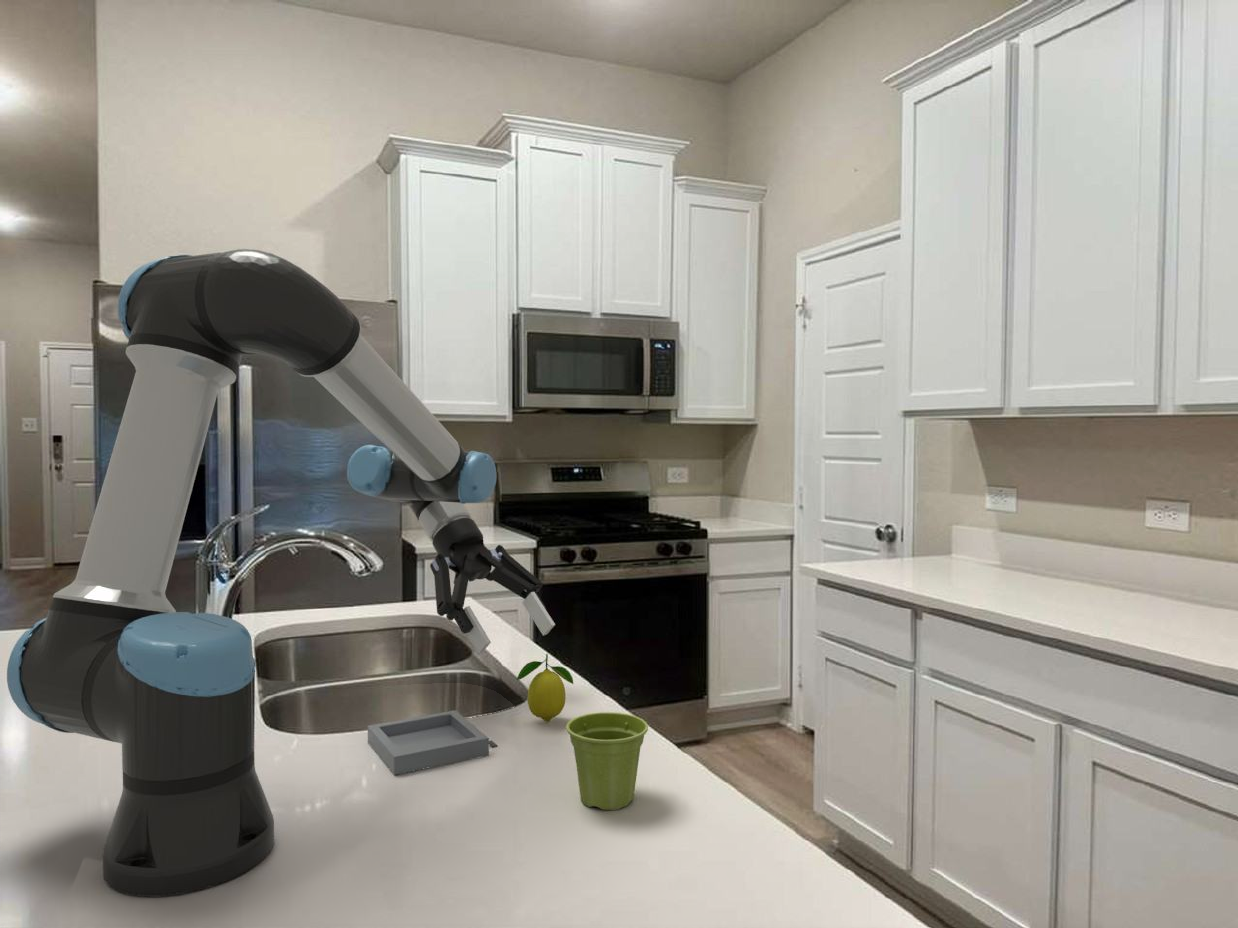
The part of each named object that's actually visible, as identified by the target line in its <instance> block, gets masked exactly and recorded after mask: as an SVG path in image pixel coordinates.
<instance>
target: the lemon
mask: <svg viewBox="0 0 1238 928" xmlns="http://www.w3.org/2000/svg"><path fill="white" fill-rule="evenodd" d="M548 655H549V654H548V653H546V654H545V659H544V660H543V661H537V660H534V661H530V662H528V663H526V664H525V665H524V666H523V667H522V668H521V670H520V672H519V673H518V675H517V677H516V681H520V680H522V679H524V678H526V677H527V676H529V674H530V673H532V672H534V671H535V670H537V669H538V668H539V667H540V666H541V665H542V664H544V663H545V669H544V670H543V671H540V672H538V673H536V674H535V676H534V677H533V678H532V680H531V682H530V684H529V686H528V690H527V698H526V699H527V700H526V701H527V705H528V709H529V711H530V713H531V714H532V715H533V716H535V717H537V718H539V719H542V720H543V721H544V722H545V723H550V722H551V720H552V719H553V718H556V717H557V716H559V715H560V714H561V712H562V711H563V709H564V707H565V705H566V699H567V698H566V695H567V694H566V693H567V692H566V687H565V684H564V682H563V679H564V680H565V681H566V682H567V683H570V684H572V685H574V679H573V676H572V674H571V673H570V671H569V670H568V669H566V667H563V666H559V665H556V666H551V665H549V664H548V660H549V659H548ZM548 667H550V669H551V670H552V671H551V670H550V669H548Z"/></svg>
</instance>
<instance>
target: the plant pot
mask: <svg viewBox="0 0 1238 928" xmlns="http://www.w3.org/2000/svg"><path fill="white" fill-rule="evenodd" d="M648 729H649V725H648V722H647V721H645V719H642V718H641V717H638V716H637V715H633V714H629V713H622V712H615V711H613V712H610V711H609V712H608V711H606V712H605V711H604V712H603V711H602V712H601V711H600V712H592V713H585V714H582V715H581V714H580V715H579V716H576V717H574V718H572V719H570V720H569V721H568V722H567V723H566V725H565V730H566V732H567V734H568V735H569V737H570V743H571V745H572V747H573V752H574V757H575V758H574V759H575V765H576V773H577V779H578V788H579V795H580V801H581V803H583V804H584V805H585V806H587V807H589V808H590V807H591V808H592V807H597V808H599V809H600V810H605V811H611V810H618V809H622V808H625V807H627V806H629V804H630V803H631V801H633V800H634V796H635V790H636V784H637V783H636V782H637V775H638V770H639V769H638V768H639V761H640V752H641V747H642V744H643V743H644V738H645V735H646V734H647V732H648Z"/></svg>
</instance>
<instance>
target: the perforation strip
mask: <svg viewBox="0 0 1238 928" xmlns="http://www.w3.org/2000/svg"><path fill="white" fill-rule="evenodd" d="M482 733H483V734H485V733H484V732H482ZM489 744H490V745H491V746H492V747H491V746H490V745H489V746H490V747H491V748H497V747H498V743H497V744H496V742H494V741H493V740H489Z"/></svg>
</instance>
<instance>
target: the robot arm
mask: <svg viewBox="0 0 1238 928" xmlns="http://www.w3.org/2000/svg"><path fill="white" fill-rule="evenodd" d="M117 299H118V300H117V315H118V317H117V318H118V321H119V322H120V323H122V326H123V328H122V329H121V330H122V332H123V334H124V337H126V339H127V340H128V341H127V342H128V343H127V345H126V347H125V355H126V357H127V358H128V360H130V362H131V363H132V365H133V366H134V369H135V373H134V377H133V381H132V384H131V387H130V391H129V394H128V398H127V401H126V405H125V408H124V411H123V413H122V414H123V415H122V418H121V421H120V425H119V427H118V431H117V436H116V438H115V443H114V445H113V449H112V451H111V457H110V460H109V463H108V466H107V469H106V473H105V476H104V480H103V483H102V486H101V490H100V494H99V497H98V500H97V503H96V508H95V511H94V514H93V517H92V518H93V519H92V521H91V524H90V528H89V531H88V535H87V538H86V541H85V545H84V549H83V552H82V556H81V559H80V562H79V565H78V569H77V573H76V575H75V579H74V580H73V581H72V583H70V584H68V585H67V586H65V587H63V588H61V589H60V590H58V591H56V592H55V593H54V594H53V596H52V597H51V601H50V605H49V609H48V612H47V614H46V617H45V618H43V619H40V620H39V621H37V622H35V623H34V624H33V626H32V627H31V628H30V629H28V630H25V631H24V632H23V633H22V635H21V636H19V638H18V639H17V640H16V642H15V644H14V646H13V648H12V650H11V652H10V655H9V659H8V662H7V668H6V682H7V683H6V684H7V688H8V692H9V694H10V697H11V699H12V701H13V703H14V704H15V706H16V707H17V708H18V709H19V710H20V712H21V713H22V714H24V715H25V716H26V717H28V718H29V719H31V720H32V721H34V722H36V723H38V724H42V725H44V726H45V727H47V728H49V729H52V730H55V731H57V732H60V733H65V734H78V735H82V736H83V735H84V736H87V737H91V738H96V739H100V740H104V741H107V742H108V741H109V742H113V743H117V744H121V763H122V766H121V767H122V768H121V769H122V793H121V795H120V799H119V802H118V804H117V807H116V811H115V814H114V815H113V816H114V817H113V819H112V823H111V825H110V829H109V830H108V831H109V832H108V834H107V837H106V841H105V844H104V847H103V851H102V878H103V881H104V882H105V883H106V885H107V886H108V887H109V888H111V889H113V890H114V891H117V892H119V893H122V894H126V895H131V896H138V897H139V896H140V897H141V896H142V897H162V896H163V897H164V896H165V897H166V896H173V895H178V894H179V895H181V894H185V893H190V892H195V891H199V890H203V889H206V888H210V887H213V886H216V885H219V884H222V883H225V882H227V881H229V880H232V879H233V878H236V877H238V876H240V875H242V874H244V873H246V872H247V871H249V870H251V869H253V868H254V867H256V866H257V865H258V864H260V863H261V861H263V860H264V859H265V858H267V856H268V855H269V853H270V852H271V851H272V849H273V847H274V843H275V822H274V819H275V818H274V814H273V812H272V809H271V806H270V805H269V802H268V800H267V797H266V794H265V792H264V789H263V787H262V784H261V782H260V779H259V776H258V773H257V772H256V766H255V724H256V723H255V713H256V712H255V703H256V699H255V698H256V696H255V695H256V694H255V691H256V689H255V688H256V685H255V684H256V683H255V682H256V677H255V674H256V660H255V657H254V654H253V653H254V652H253V641H252V640H253V639H252V637H251V634H250V632H249V629H247V628H246V626H245V625H244V624H242V623H241V622H240V621H238V620H235V619H233V618H230V617H228V616H225V615H224V616H223V615H219V614H215V613H210V612H209V613H208V612H198V613H191V612H189V611H180V612H179V611H177V610H176V609H175V608H174V606H173V604H171V602H170V601H169V599H168V598H167V596H166V591H167V587H168V582H169V578H170V575H171V572H172V567H173V563H174V560H175V555H176V552H177V548H178V546H179V545H178V544H179V541H180V536H181V533H182V530H183V525H184V522H185V517H186V513H187V510H188V507H189V506H188V505H189V504H190V500H191V499H190V498H191V495H192V492H193V487H194V483H195V480H196V476H197V472H198V468H199V466H200V462H201V458H202V453H203V449H204V446H205V442H206V438H207V435H208V431H209V428H210V423H211V419H212V416H213V412H214V408H215V404H216V399H217V396H218V393H219V392H220V390H223V389H224V388H226V387H228V386H230V385H232V384H235V382H236V380H237V376H238V373H239V370H240V365H241V362H242V357H243V355H253V354H254V355H255V354H260V355H263V356H264V355H266V356H268V357H273V358H276V359H277V360H279V361H282V362H284V363H285V364H287V365H288V366H289V367H290V368H291V369H292V370H293V371H294V372H295V373H297V374H298V375H299V376H301V377H306V378H314V379H316V381H317V382H319V384H320V385H321V386H322V387H323V388H325V390H327V391H328V392H329V393H330V394H331V395H332V396H333V397H334V398H335V399H336V400H337V401H338V402H339V403H340V404H341V405H342V406H344V408H345V409H347V411H349V413H351V414H352V415H353V416H354V417H355V418H356V420H358V421H359V422H360V423H361V424H362V425H363V426H364V427H365V428H367V429H368V431H370V433H372V435H373V436H375V438H377V439H378V440H379V441H380V442H381V443H382V444H383V445H384V446H381V445H380V446H377V445H374V444H366V445H362V446H361V447H359V448H357V449H356V450H355V451H354V452H353V453H352V455H351V457H350V458H349V460H348V463H347V468H346V469H347V471H346V478H347V481H348V483H349V485H350V486H351V487H352V488H353V489H354V491H356V492H359V493H361V494H363V495H367V496H368V497H369V498H371V497H374V498H379V499H384V500H387V501H392V502H395V503H398V504H404V505H406V506H408V507H409V508H410V509H411V511H412V512H413V514H414V516H415V518H416V520H417V521H418V522H419V524H420V526H421V528H422V529H423V531H424V532H425V534H426V536H427V538H428V539H429V540H430V542H432V546H433V548H434V550H435V551H436V553H437V555H436V556H435V557H434V559H433V560H432V562H431V563H430V565H429V566H430V567H429V568H430V570H431V572H432V574H433V576H434V578H433V579H434V590H435V603H436V613H437V614H438V615H439V616H440V617H443V616H445V615H446V619H447V620H449V621H453V620H454V621H455V623H456V624H457V626H458V627H459V630H460V632H462V633H463V634H465V635H466V636H467V638H468V640H469V641H470V644H472V646H473V648H474V649H475V651H476V653H477V655H480V654H483V653H484V651H485V650H486V649H487V648H488V646H489V645H490V644H491V643H492V641H491V639H490V638H489V636H488V635H487V633H486V631H485V629H484V628H483V626H482V625H481V623H480V621H479V620H478V619H479V618H477V617H476V615H475V613H474V611H473V609H472V608H471V606H470V605H468V606H465V601H466V595H467V590H468V583H469V582H474V581H476V580H484V579H486V580H488V582H489V581H490V582H493V581H494V582H495V583H497V584H498V585H500V586H502V587H504V588H505V589H507V590H508V591H510V592H512V593H513V594H516V595H517V596H519V597H521V598H522V599H524V600H523V601H522V604H523V606H524V608H525V609H526V611H527V612H528V614H529V615H530V617H531V618H532V621H533V622H534V624H535V625H536V626H537V628H538V630H539V631H540V633H541V635H542V636H546V635H548V634H549V633H550V632H551V630H552V629H553V628H554V627H555V626H556V623H555V622H554V620H553V618H552V617H551V616H550V614H549V613H548V611H547V608H546V607H547V606H546V604H545V603H544V601H543V600H542V598H541V597H540V595H539V593H538V592H539V591H540V590H541V588H542V587H543V585H544V584H543V582H542V581H541V580H539V579H538V578H537V577H536V576H535V575H534V574H533V573H531V572H530V571H529V570H528V569H526V568H525V567H524V566H523V565H522V564H520V563H519V562H518V561H517V560H516V559H514V558H513V556H511V555H510V554H509V552H507V550H506V549H505V548H504V547H503V545H501V544H498V545H496V547H495V549H494V548H493V549H491V550H490V549H489V548H487V546H486V545H485V543H484V535H483V533H482V531H481V530H480V528H479V527H478V525H477V523H476V522H475V520H474V519H472V516H471V513H470V512H469V510H468V509H467V507H466V504H467V503H468V504H469V503H470V504H471V503H472V504H473V503H474V504H475V503H476V504H478V503H483V502H486V501H487V500H488V499H490V497H491V496H492V494H493V493H494V489H495V486H496V484H497V469H496V468H497V467H496V465H495V461H494V460H493V458H492V457H491V455H489V454H488V453H485V452H482V451H481V452H480V451H479V452H478V451H476V450H471V451H467V450H465V449H464V448H463V446H462V445H461V444H460V443H459V442H458V441H457V440H456V438H454V437H453V435H452V434H451V433H450V432H449V431H448V430H447V429H446V428H445V426H443V424H442V423H441V422H440V421H439V420H438V419H437V418H436V416H435V415H434V414H433V413H432V412H431V411H430V409H428V408H427V407H426V406H425V404H424V403H423V402H422V401H421V400H420V399H419V397H418V396H417V395H416V394H415V393H414V392H413V391H412V390H411V389H410V388H409V386H408V385H407V384H406V383H405V382H404V381H403V380H402V379H401V378H400V377H399V376H398V375H397V373H396V372H395V371H394V370H393V369H392V367H391V366H389V364H388V363H387V362H386V361H385V360H384V359H383V358H382V357H381V355H380V354H379V353H378V352H377V350H375V348H373V347H372V345H371V344H370V343H369V342H368V341H367V340H366V339H365V338H364V337H363V335H362V324H361V322H360V320H359V318H357V316H356V314H354V313H353V312H352V310H350V308H348V306H347V305H346V304H345V303H344V302H343V301H342V300H341V299H340V298H339V297H338V296H337V295H336V294H335V293H334V292H333V291H331V290H330V288H328V287H327V286H326V285H325V284H323V283H322V282H320V280H319V279H317V278H316V277H314V276H312V274H309V273H308V272H307V271H306V270H304V269H302V268H301V267H300V266H298V265H296V264H294V263H292V262H291V261H288V260H287V259H285V258H282V257H280V256H278V255H276V254H274V253H272V252H271V253H270V252H267V251H262V250H259V249H250V248H249V249H248V248H242V249H240V248H239V249H235V250H234V249H233V250H228V251H222V252H213V253H204V254H198V255H191V254H190V255H189V254H178V255H175V254H174V255H168V256H165V257H163V258H160V259H155V260H152V261H150V262H147V263H145V264H142V265H141V266H140V267H138V268H136V269H135V270H134V271H133V272H132V273H131V274H130V275H129V276H128V277H127V279H126V280H125V281H124V283H123V286H122V287H121V290H120V292H119V295H118V298H117ZM450 571H452V572H454V578H453V579H454V580H453V584H454V585H453V590H452V589H451V588H452V587H451V579H450V578H451V577H450V575H451V574H450ZM464 606H465V607H464Z"/></svg>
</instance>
